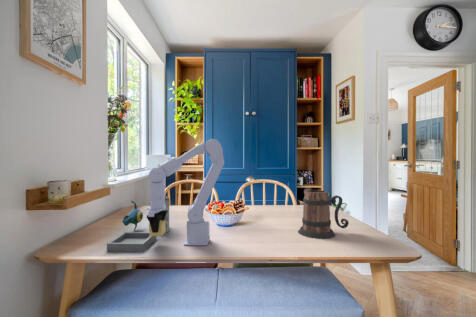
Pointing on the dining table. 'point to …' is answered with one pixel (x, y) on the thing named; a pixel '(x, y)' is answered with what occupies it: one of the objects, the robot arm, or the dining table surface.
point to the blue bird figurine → (133, 216)
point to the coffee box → (167, 213)
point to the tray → (131, 242)
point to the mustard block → (161, 229)
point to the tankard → (319, 215)
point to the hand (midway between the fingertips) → (157, 230)
